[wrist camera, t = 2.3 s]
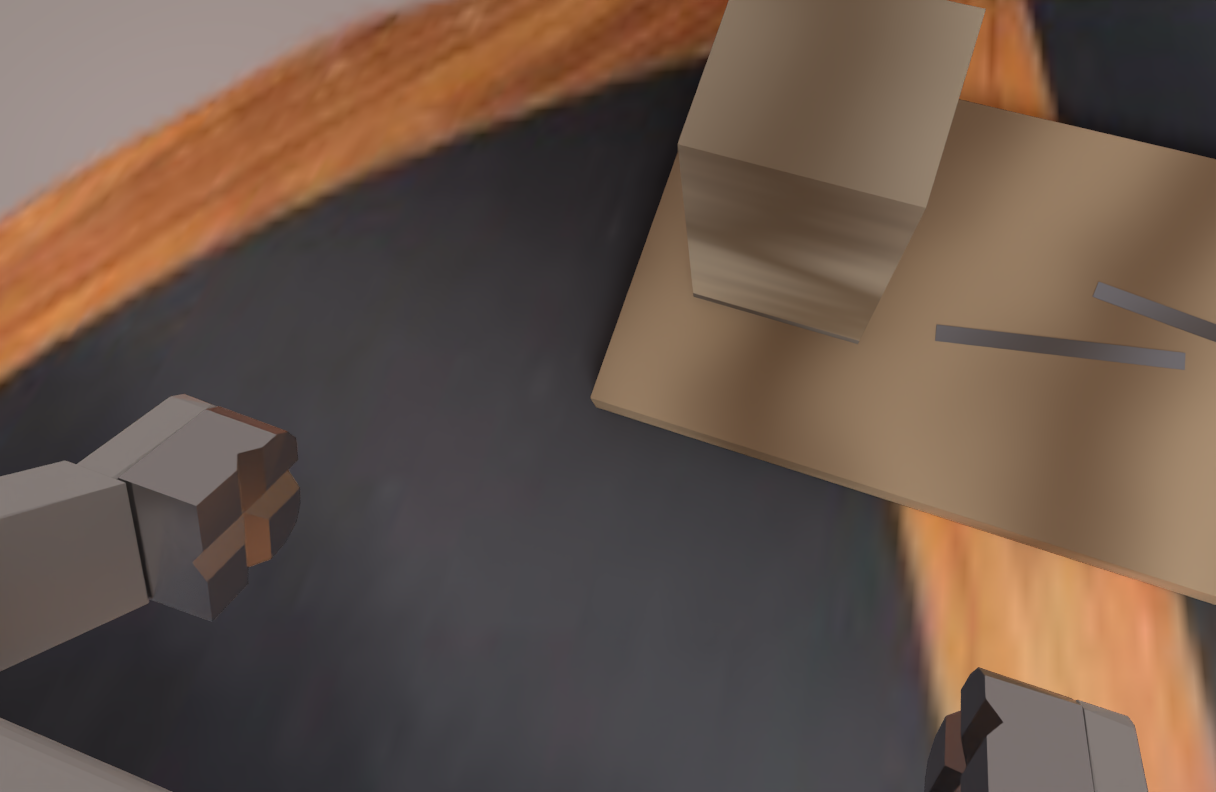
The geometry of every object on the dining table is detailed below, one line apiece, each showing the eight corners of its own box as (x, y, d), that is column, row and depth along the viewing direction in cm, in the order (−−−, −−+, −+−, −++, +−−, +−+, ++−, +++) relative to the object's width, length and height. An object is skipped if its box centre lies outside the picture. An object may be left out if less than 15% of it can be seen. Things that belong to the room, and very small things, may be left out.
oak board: (1723, 306, 23) (1778, 290, 22) (1665, 748, 21) (1721, 756, 20) (717, 66, 28) (716, 42, 27) (596, 407, 26) (590, 397, 25)
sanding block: (899, 207, 25) (985, 9, 17) (857, 344, 24) (926, 207, 16) (738, 165, 26) (744, -43, 17) (693, 296, 25) (677, 143, 17)
